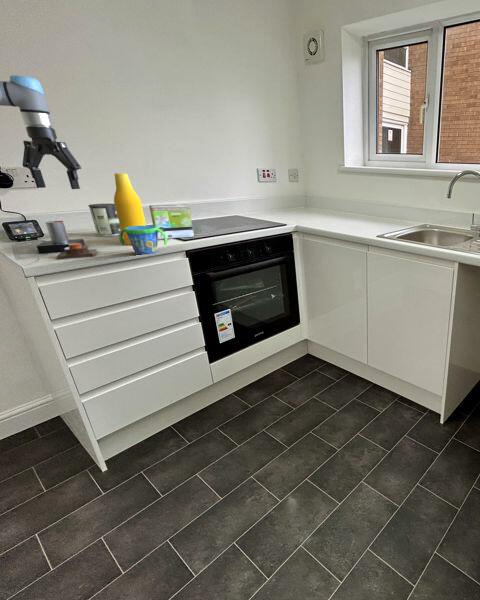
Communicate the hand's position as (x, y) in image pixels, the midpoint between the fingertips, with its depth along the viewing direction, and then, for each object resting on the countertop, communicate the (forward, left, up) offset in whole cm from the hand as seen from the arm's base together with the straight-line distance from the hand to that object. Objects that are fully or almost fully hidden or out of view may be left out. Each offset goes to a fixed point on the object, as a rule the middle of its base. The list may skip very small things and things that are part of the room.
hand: (58, 188), depth 134 cm
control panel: (-4, 0, -23) cm, 24 cm away
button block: (+3, -13, -23) cm, 27 cm away
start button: (+3, -13, -21) cm, 25 cm away
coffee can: (+7, +30, -24) cm, 38 cm away
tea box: (+34, +14, -24) cm, 43 cm away
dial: (-4, 0, -20) cm, 21 cm away
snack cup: (+25, -18, -24) cm, 39 cm away
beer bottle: (+20, +4, -24) cm, 31 cm away
